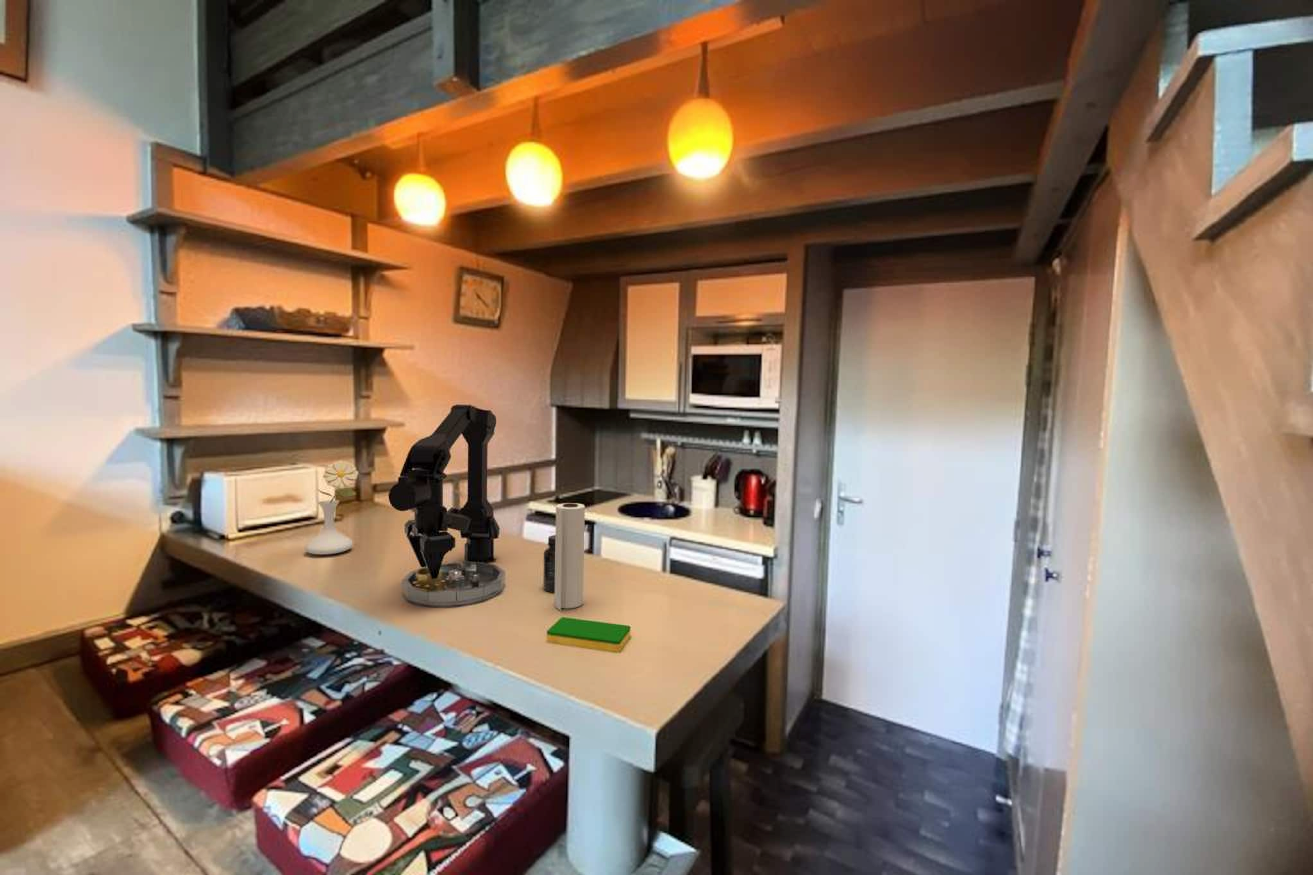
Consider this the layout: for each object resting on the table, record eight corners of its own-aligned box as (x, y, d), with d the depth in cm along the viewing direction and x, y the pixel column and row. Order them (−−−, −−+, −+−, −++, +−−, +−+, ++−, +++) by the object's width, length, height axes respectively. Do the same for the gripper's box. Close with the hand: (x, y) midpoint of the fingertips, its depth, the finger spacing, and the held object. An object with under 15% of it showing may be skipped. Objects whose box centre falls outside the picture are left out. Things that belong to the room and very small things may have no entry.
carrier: (485, 569, 140) (485, 552, 140) (517, 595, 123) (518, 575, 123) (394, 584, 128) (394, 565, 127) (416, 615, 111) (416, 593, 111)
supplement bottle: (579, 588, 129) (580, 537, 128) (555, 595, 124) (556, 542, 123) (561, 581, 133) (561, 531, 132) (537, 587, 128) (537, 536, 127)
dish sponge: (618, 654, 97) (619, 641, 97) (545, 644, 101) (545, 631, 101) (630, 638, 104) (631, 625, 104) (561, 628, 108) (562, 616, 108)
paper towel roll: (571, 596, 123) (573, 501, 122) (588, 604, 119) (590, 505, 117) (543, 604, 118) (545, 504, 117) (560, 613, 114) (562, 509, 112)
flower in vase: (297, 558, 145) (295, 462, 143) (314, 546, 156) (313, 457, 154) (352, 557, 147) (351, 463, 145) (365, 545, 158) (364, 458, 156)
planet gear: (410, 587, 123) (410, 569, 123) (439, 582, 127) (439, 564, 126) (417, 596, 118) (417, 577, 117) (448, 590, 122) (448, 572, 121)
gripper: (480, 506, 118) (479, 578, 119) (454, 492, 133) (454, 556, 134) (424, 511, 111) (424, 587, 113) (403, 496, 126) (404, 563, 128)
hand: (428, 572), depth 122 cm, fingers open, 9 cm apart
